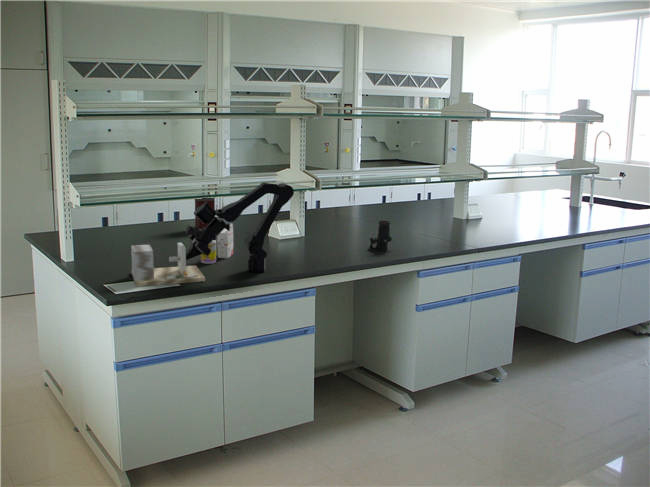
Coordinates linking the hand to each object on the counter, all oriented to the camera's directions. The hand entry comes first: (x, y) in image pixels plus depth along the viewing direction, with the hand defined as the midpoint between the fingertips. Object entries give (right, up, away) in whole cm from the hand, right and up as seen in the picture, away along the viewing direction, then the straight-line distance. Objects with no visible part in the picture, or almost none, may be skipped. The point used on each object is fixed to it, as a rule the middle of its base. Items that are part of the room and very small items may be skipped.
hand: (184, 259), depth 258 cm
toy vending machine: (-8, +13, +88) cm, 89 cm away
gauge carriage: (-2, -6, -2) cm, 6 cm away
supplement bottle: (+5, -2, +24) cm, 24 cm away
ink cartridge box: (+11, +1, +35) cm, 37 cm away
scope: (+83, +3, +56) cm, 100 cm away
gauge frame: (-6, -7, -1) cm, 10 cm away
